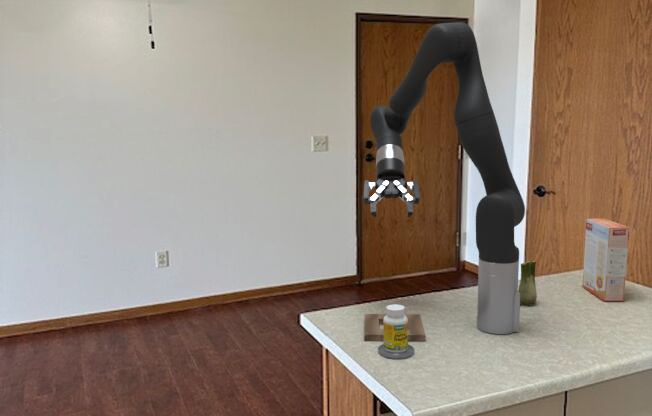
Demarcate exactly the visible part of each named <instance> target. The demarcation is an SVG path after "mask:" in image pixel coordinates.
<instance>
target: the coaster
mask: <svg viewBox="0 0 652 416" xmlns="http://www.w3.org/2000/svg"><path fill="white" fill-rule="evenodd" d="M377 353H378V355H380V356H381V357H383V358H385V359H390V360H405V359H409V358H411V357H413V356H414V355H415V348H414V346H413V345H410V344H409V343H408V348H407V350H406V351H405V352H402V353H391V352H388V351H386V350H385V349H384V343H382V344H380V345H379V346H378V347H377Z"/></svg>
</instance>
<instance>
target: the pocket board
mask: <svg viewBox="0 0 652 416" xmlns="http://www.w3.org/2000/svg"><path fill="white" fill-rule="evenodd" d="M386 315H387V313H364V329H363V330H364V332H363V333H364V337H363V338H364V339H363V340H364V342H384V331H383V329H380V325H381V326H382V325H383V319H384V317H385V316H386ZM404 315H405V316H406V317H407V319H408V342H426V332H425V328H424V324H423V320H422V316H421V314H420V313H419V314H418V313H414V314H413V313H411V314H410V313H404Z"/></svg>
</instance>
